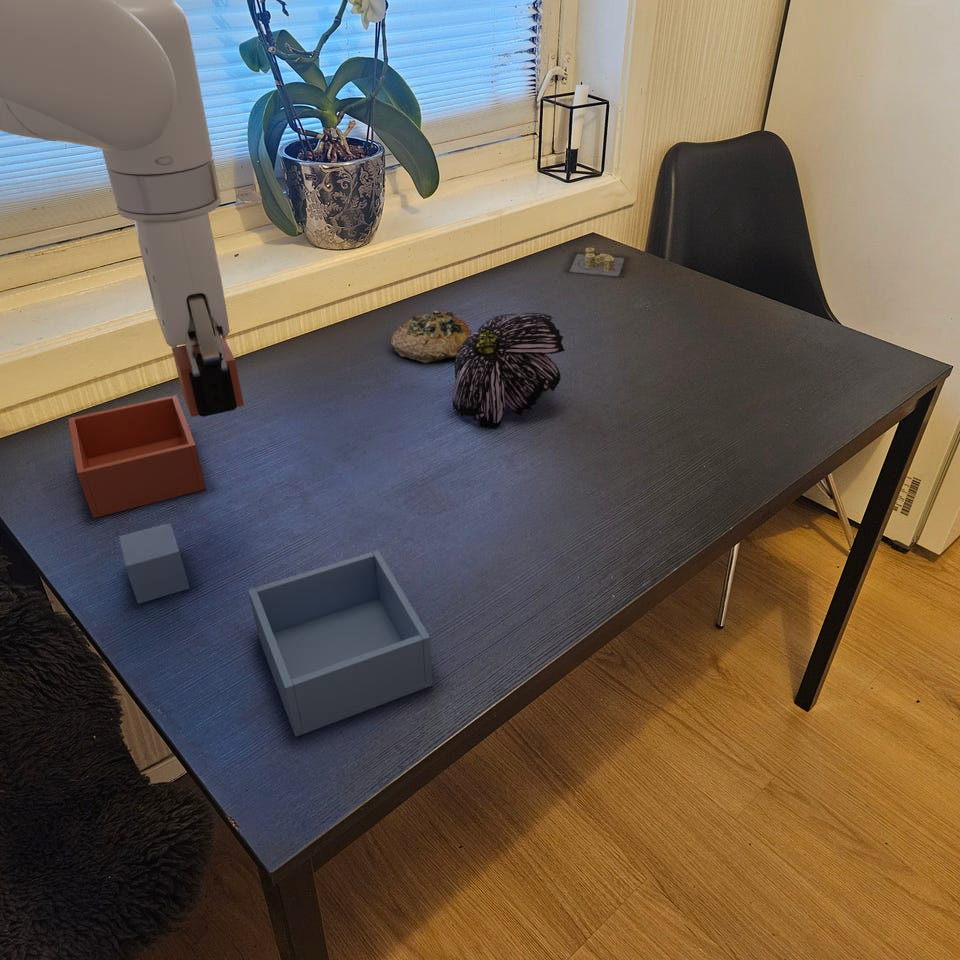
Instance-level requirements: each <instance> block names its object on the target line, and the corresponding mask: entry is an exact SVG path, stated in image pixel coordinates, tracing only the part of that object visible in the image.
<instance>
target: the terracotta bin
mask: <svg viewBox="0 0 960 960" xmlns="http://www.w3.org/2000/svg"><path fill="white" fill-rule="evenodd" d="M67 420H68V425H69V432H70V437H71V444H72V450H73V455H74V462H75V468H76V473H77V476H78V479H79V482H80V486H81V488H82V491H83V494H84V496H85V499H86V502H87V505H88V508H89V511H90V513H91V517H92V518H93V519H96V518H101V517H105V516H108V515H111V514H115V513H120V512H123V511H128V510H131V509H135V508H139V507H143V506H147V505H150V504H154V503H158V502H162V501H166V500H169V499H173V498H176V497H181V496H185V495H188V494H192V493H197V492H200V491H204V490H206V489H207V485H206V482H205V478H204V474H203V470H202V466H201V462H200V461H201V460H200V456H199V452H198V449H197V446H196V443H195V440H194V439H195V438H194V436H193V434H192V432H191V429H190V426H189V424H188V421H187V418H186V416H185V414H184V410H183V408H182V406H181V403H180V400H179V397H178V395H177V394H174V395H169V396H165V397H160V398H156V399H151V400H146V401H141V402H137V403H132V404H128V405H123V406H118V407H114V408H109V409H105V410H100V411H95V412H91V413H87V414H81V415H77V416H72V417H68V419H67Z"/></svg>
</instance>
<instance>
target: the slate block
mask: <svg viewBox="0 0 960 960" xmlns="http://www.w3.org/2000/svg"><path fill="white" fill-rule="evenodd" d="M118 539H119V544H120V548H121V554H122V557H123V558H122V559H123V564H124V567H125V570H126V573H127V576H128V579H129V582H130V585H131V588H132V591H133V595H134V597H135V601H136V602H137V604H143V603H146V602H149V601H153V600H157V599H159V598H163V597H166V596H170V595H173V594H176V593H180V592H183V591H186V590H189V589H190V584H189V581H188V576H187V574H186V571H185V566H184V564H183V559H182V555H181V553H180V549H179V545H178V542H177V539H176V536H175V532H174V528H173V525H172V523H171V522H168V523H164V524H161V525H157V526H152V527H149V528H145V529H142V530H138V531H134V532H130V533H127V534H123V535H119V536H118Z"/></svg>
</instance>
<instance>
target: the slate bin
mask: <svg viewBox="0 0 960 960" xmlns="http://www.w3.org/2000/svg"><path fill="white" fill-rule="evenodd" d="M247 592H248V595H249V601H250V606H251V609H252V613H253V618H254V622H255V623H254V624H255V626H256V631H257V635H258V639H259V642H260V645H261V647H262V650H263V653H264V655H265V658H266V661H267V664H268V666H269V670H270V672H271V675H272V677H273V680H274V683H275V685H276V688H277V691H278V694H279V696H280V697H279V698H280V699H281V702H282V705H283V707H284V710H285V713H286V715H287V719H288V721H289V723H290V724H289V725H290V727H291V729H292V731H293V735H294V737H295V738H297V737H299V736H302V735H304V734H308V733H310V732H312V731H315V730H318V729H321V728H324V727H326V726H329V725H331V724H334V723H337V722H339V721H342V720H345V719H348V718H350V717H353V716H355V715H358V714H360V713H364V712H366V711H368V710H371V709H374V708H376V707H379V706H382V705H385V704H388V703H389V702H393V701H396V700H398V699H400V698H401V699H402V698H403V697H406V696H409V695H411V694H413V693H416V692H420V691H422V690H424V689H427V688H431V687H432V686H433V672H432V671H433V669H432V652H431V651H432V650H431V636H430V635H429V633H428V630H427V629H426V627H425V625H424V624H423V623H422V621H421V620H420V618H419V616H418V614H417V612H416V611H415V609H414V608H413V606H412V604H411V603H410V600H409V599H408V597H407V596H406V593H405V592H404V591H403V588H402V587H401V586H400V584H399V582H398V581H397V578H396V577H395V575H394V573H393V572H392V571H391V569H390V567H389V565H388V563H387V562H386V560H385V558H384V557H383V555H382V554H381V552H380V550H379V549H376V550H374V551H371V552H367V553H364V554H360V555H357V556H353V557H351V558H347V559H344V560H341V561H338V562H337V561H336V562H334V563H331V564H328V565H324V566H321V567H318V568H315V569H312V570H308V571H304V572H302V573H299V574H295V575H292V576H289V577H285V578H282V579H279V580H275V581H272V582H269V583H266V584H263V585H259V586H256V587H252V588H249V589H247Z"/></svg>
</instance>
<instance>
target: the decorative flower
mask: <svg viewBox="0 0 960 960" xmlns="http://www.w3.org/2000/svg"><path fill="white" fill-rule="evenodd" d="M552 319H554V317H553V316H552V315H549V314H545V313H541V312H523V313H505V314H500V315H497V316H494V317H492V318H489V319H488V320H486V321H485V322H484V323H483V324H481V326H480V327H478V328H477V330H476V331H474V332H472V333H471V335H470V336H469V337H468V338H467V339H466V340H465V341H464V342H463V344H462V345H461V347H460V349H459V351H458V354H457V357H455V360H454V379H455V383H454V386H453V390H452V391H453V392H452V410H453V411H456V413H457V416H460V415H461V417H464V416H466V417H469V418H470V417H472V418H473V420H475V421H477V423H479V424H478V426H479V427H481V428H488V429H497V428H499V427H500V425H501V424H502V422H503V420H504V416H505V410H506V407H507V408H508V409H509V410H510V411H512V412H513V413H515V414H516V415H518V416H520V417H521V415H522V414H524V412H525V411H529V410H533V408H532V407H533V406H535V405H537V402H536V401H538V400H539V398H540V397H541V396H542V394H543V392H545V393H546V392H547V391H552V392H554V391H555V389H556V388H557V386H558V385H559V384H560V381H561V380H562V378H561V377H562V375H561V372H560V370H559V368H558V366H557V365H556V363H555V362H554V361H553V360H552V359H551V358H550V357H549V356H548V355H554V354H559V353H562V352H565V351H566V349H565V348H564V345H563V344H562V342H563V341H562V340H563V338H564V336H563V335H561V334H560V333H561V332H560V329H558V328H557V327H556V325H555V323H554V322H553V320H552Z"/></svg>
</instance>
